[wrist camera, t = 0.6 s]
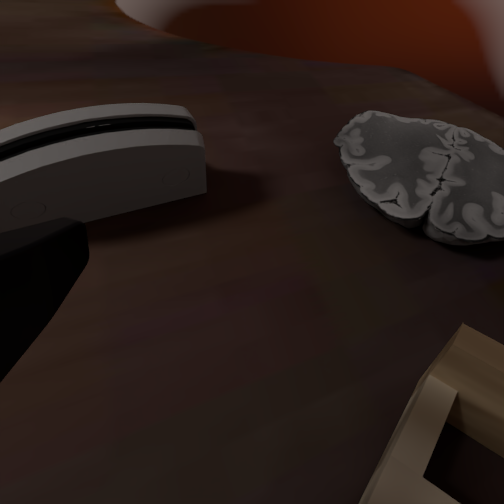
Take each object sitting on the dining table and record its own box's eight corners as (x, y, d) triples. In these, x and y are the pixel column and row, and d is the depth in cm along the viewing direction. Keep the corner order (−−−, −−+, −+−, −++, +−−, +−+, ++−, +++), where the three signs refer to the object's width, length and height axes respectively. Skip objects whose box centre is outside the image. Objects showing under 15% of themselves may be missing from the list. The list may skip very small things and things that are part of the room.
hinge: (189, 160, 39) (199, 75, 30) (207, 202, 37) (222, 125, 28) (-9, 202, 33) (-71, 113, 24) (2, 253, 32) (-59, 179, 23)
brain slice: (294, 211, 35) (299, 183, 33) (357, 124, 46) (364, 99, 43) (546, 308, 29) (572, 281, 27) (550, 183, 40) (569, 157, 38)
